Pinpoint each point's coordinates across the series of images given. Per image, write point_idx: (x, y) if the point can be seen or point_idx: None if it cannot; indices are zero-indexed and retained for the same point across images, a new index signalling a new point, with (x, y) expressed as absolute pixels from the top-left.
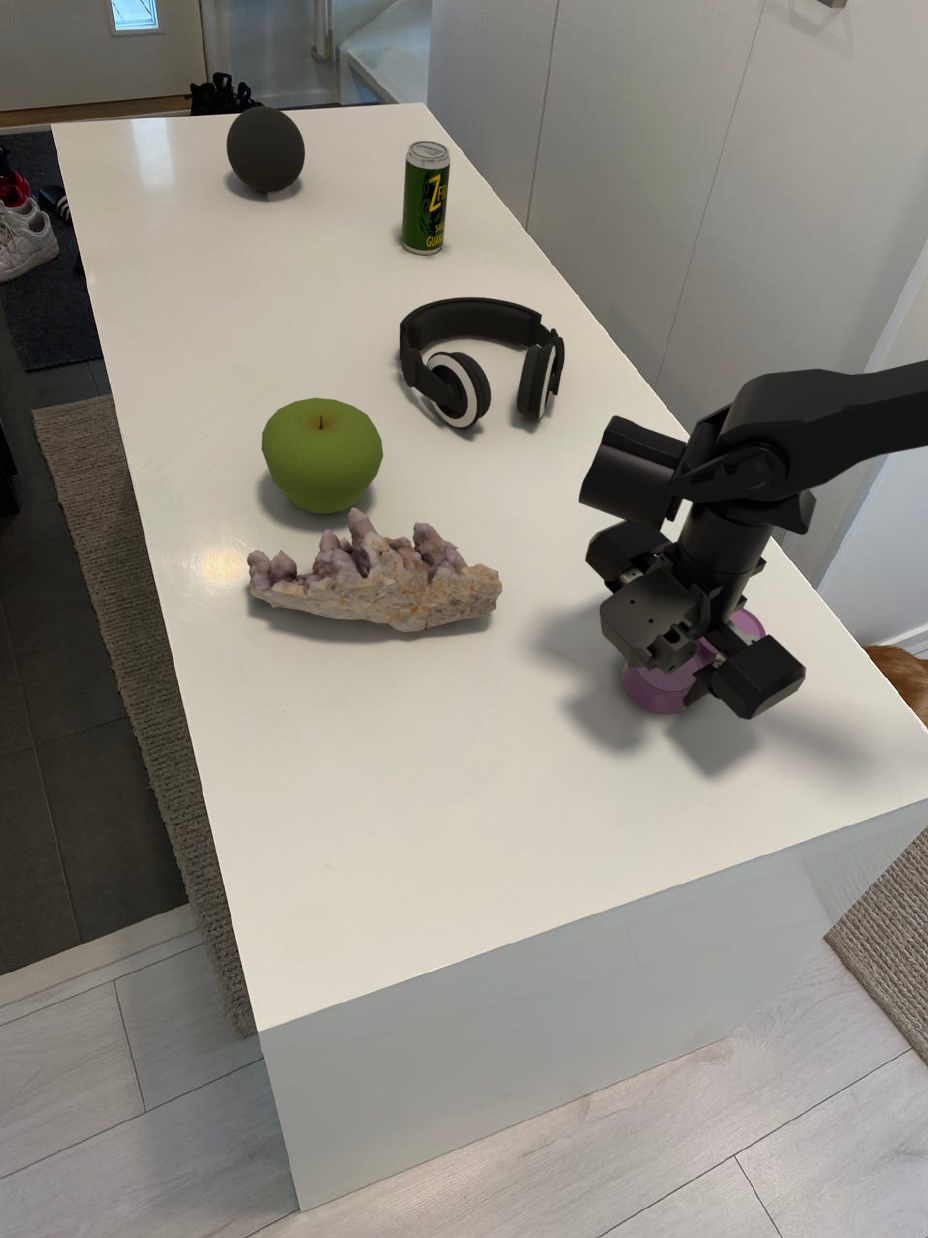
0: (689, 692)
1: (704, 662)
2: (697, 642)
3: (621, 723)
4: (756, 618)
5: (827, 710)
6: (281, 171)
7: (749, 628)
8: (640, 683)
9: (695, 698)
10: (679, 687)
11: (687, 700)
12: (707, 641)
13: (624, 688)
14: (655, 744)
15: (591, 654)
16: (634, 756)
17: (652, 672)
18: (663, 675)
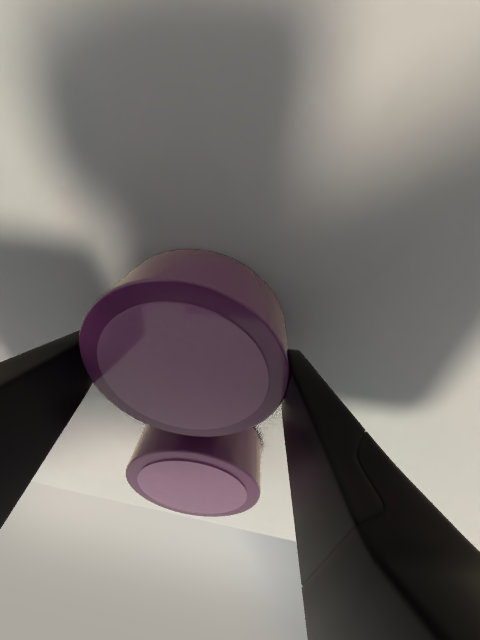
0: (35, 363)
1: None
2: (205, 446)
3: (144, 160)
4: (189, 513)
5: (55, 449)
6: None
7: (177, 502)
8: (164, 281)
9: (11, 360)
10: (106, 354)
11: (69, 340)
12: (191, 460)
13: (229, 258)
14: (52, 194)
15: (366, 270)
16: (23, 95)
17: (181, 337)
18: (157, 351)
